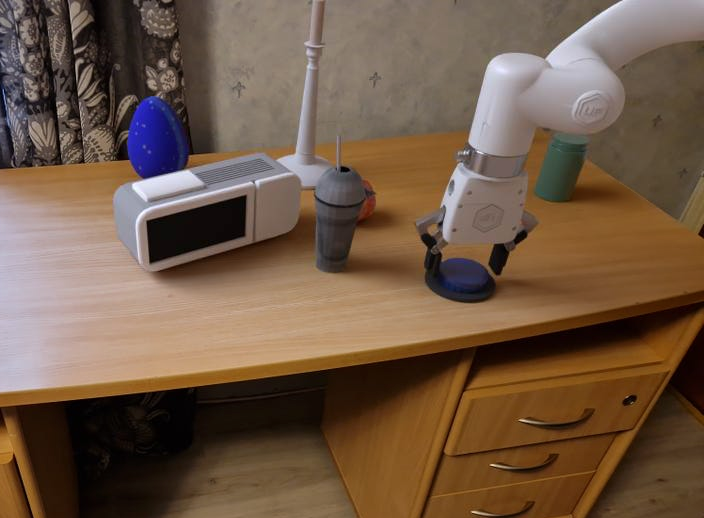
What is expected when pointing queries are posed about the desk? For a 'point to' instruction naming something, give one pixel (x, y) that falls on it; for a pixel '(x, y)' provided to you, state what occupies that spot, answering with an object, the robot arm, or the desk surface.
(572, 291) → the desk surface
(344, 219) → the beverage cup
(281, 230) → the alarm clock
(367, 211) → the pomegranate
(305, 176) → the candlestick
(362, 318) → the desk surface
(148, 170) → the ornament
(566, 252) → the desk surface
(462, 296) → the coaster
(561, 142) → the jar
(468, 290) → the lid
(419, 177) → the desk surface
